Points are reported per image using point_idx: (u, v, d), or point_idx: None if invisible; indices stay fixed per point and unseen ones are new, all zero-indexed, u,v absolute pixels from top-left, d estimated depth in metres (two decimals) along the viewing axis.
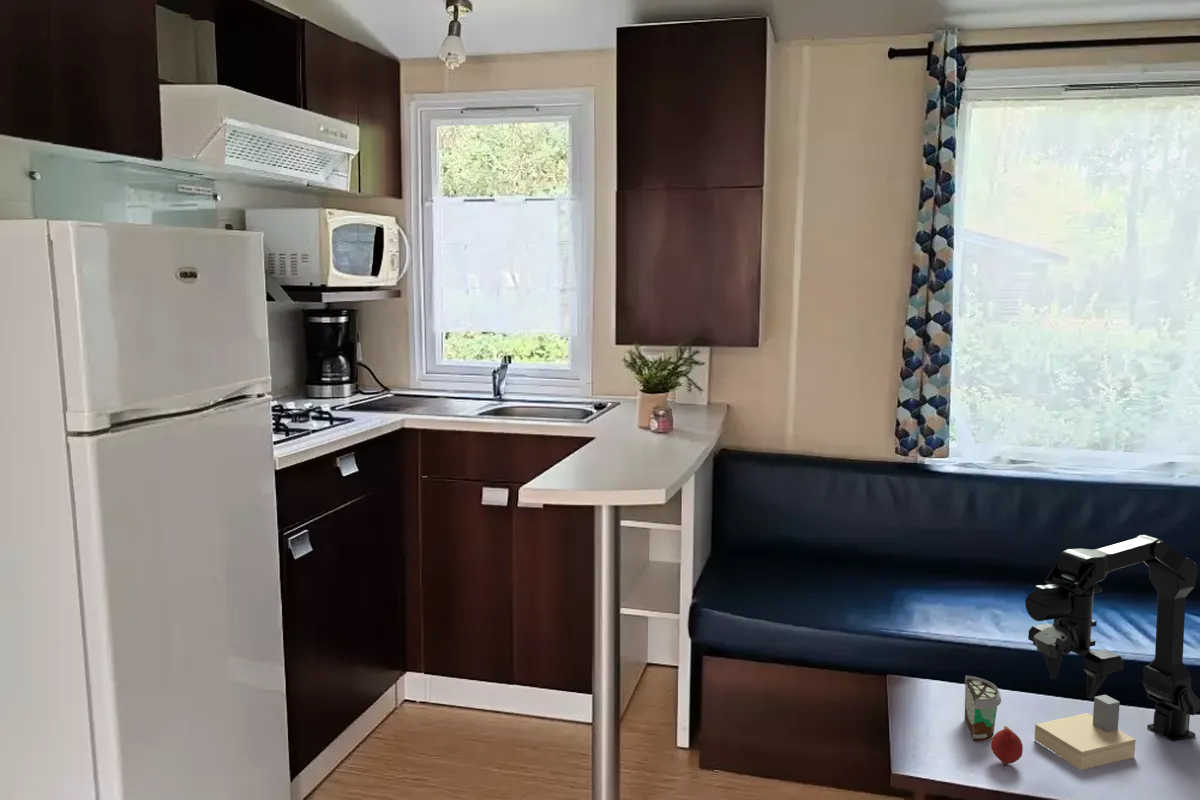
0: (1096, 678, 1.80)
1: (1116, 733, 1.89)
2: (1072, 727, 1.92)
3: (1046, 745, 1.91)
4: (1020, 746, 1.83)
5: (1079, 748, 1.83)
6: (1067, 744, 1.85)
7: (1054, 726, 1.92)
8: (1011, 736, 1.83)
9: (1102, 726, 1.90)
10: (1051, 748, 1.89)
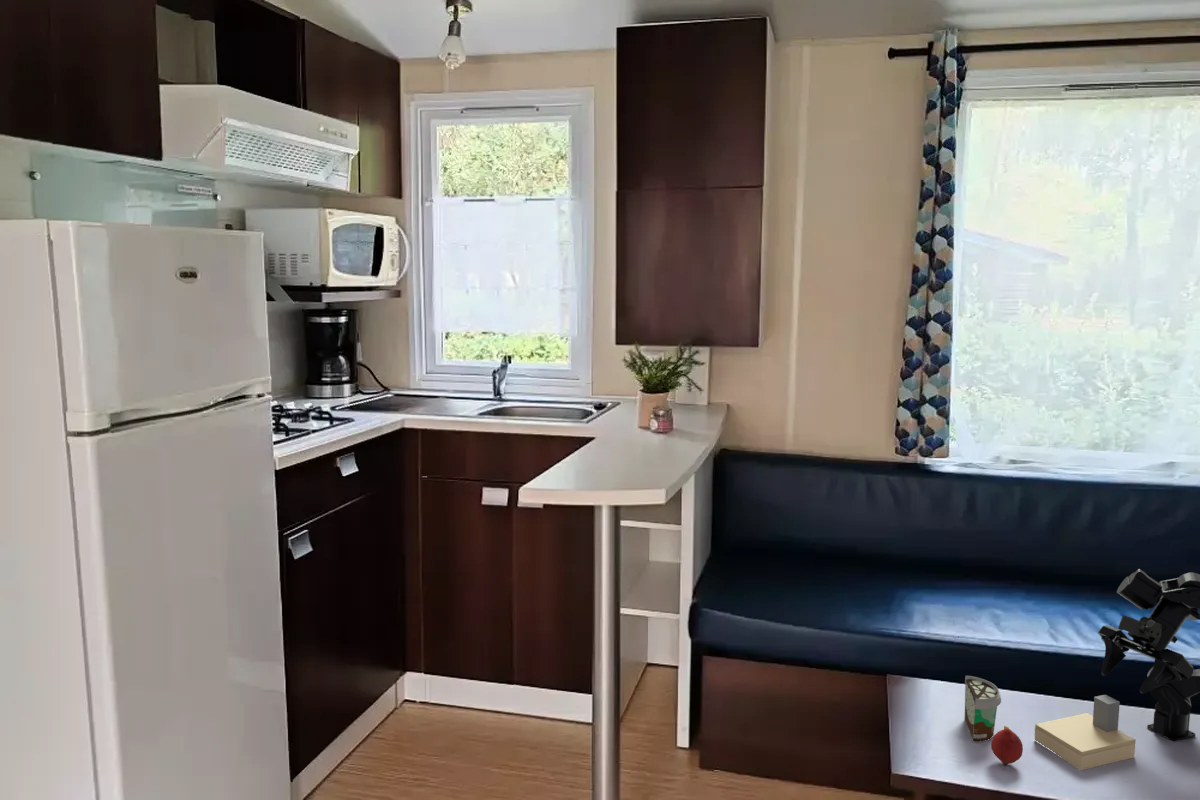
0: (1158, 676, 1.87)
1: (1116, 733, 1.89)
2: (1072, 727, 1.92)
3: (1046, 745, 1.91)
4: (1020, 746, 1.83)
5: (1079, 748, 1.83)
6: (1067, 744, 1.85)
7: (1054, 726, 1.92)
8: (1011, 736, 1.83)
9: (1102, 726, 1.90)
10: (1051, 748, 1.89)
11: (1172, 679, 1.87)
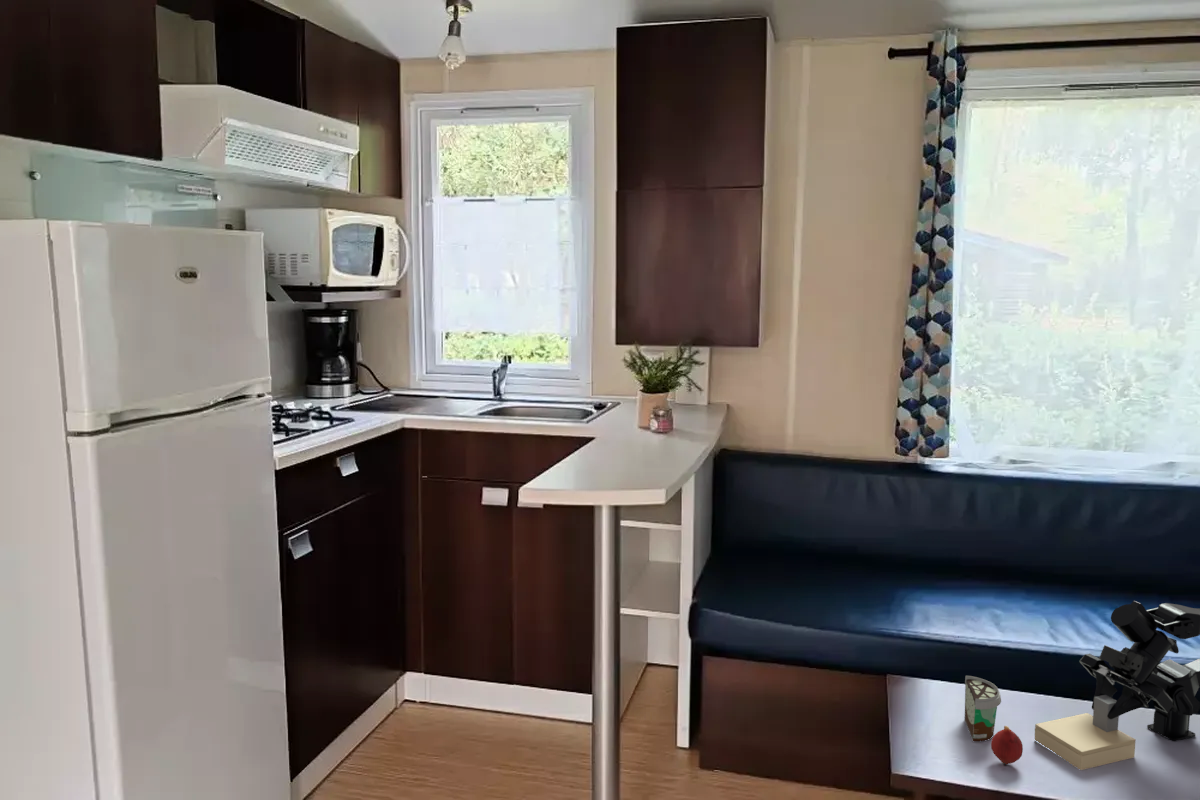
0: (1126, 703, 1.88)
1: (1116, 733, 1.89)
2: (1072, 727, 1.92)
3: (1046, 745, 1.91)
4: (1020, 746, 1.83)
5: (1079, 748, 1.83)
6: (1067, 744, 1.85)
7: (1054, 726, 1.92)
8: (1011, 736, 1.83)
9: (1102, 726, 1.90)
10: (1051, 748, 1.89)
11: (1140, 706, 1.88)
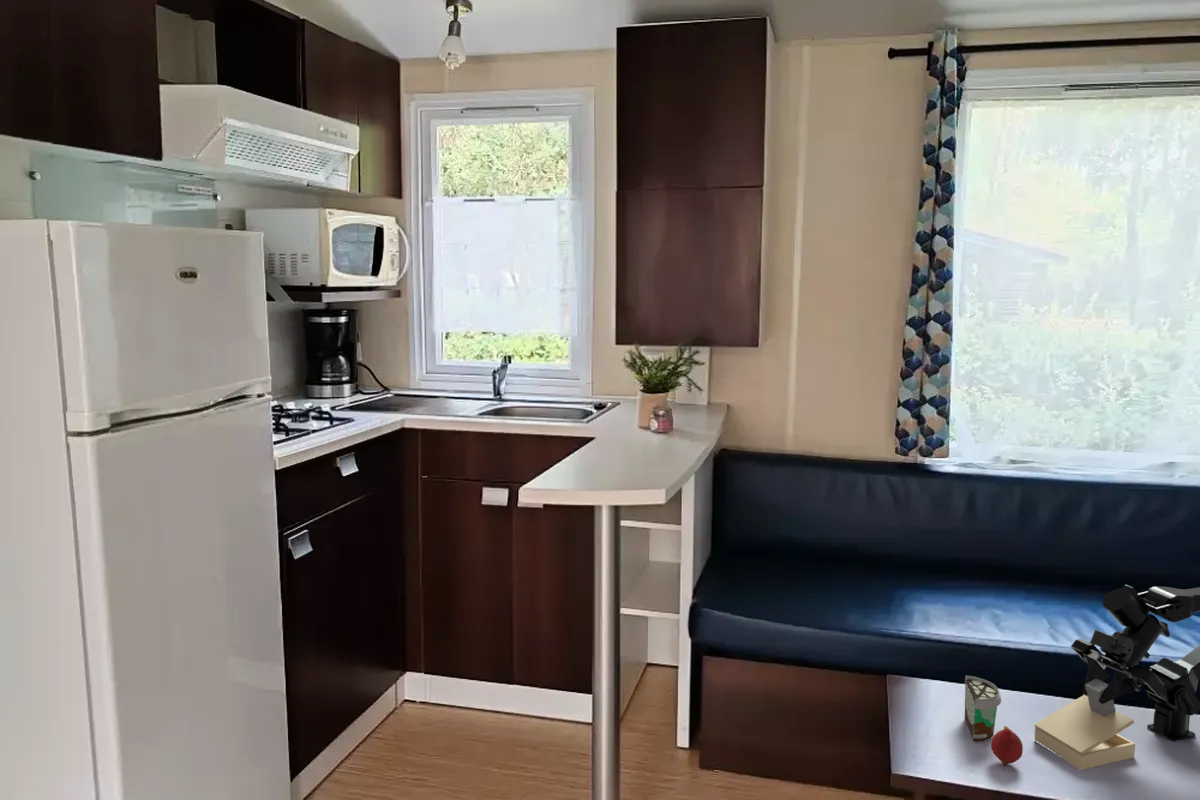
0: (1117, 687, 1.87)
1: (1114, 715, 1.88)
2: (1071, 719, 1.91)
3: (1046, 745, 1.91)
4: (1020, 746, 1.83)
5: (1078, 748, 1.83)
6: (1066, 744, 1.85)
7: (1053, 722, 1.92)
8: (1011, 736, 1.83)
9: (1099, 711, 1.90)
10: (1051, 748, 1.89)
11: (1131, 690, 1.87)
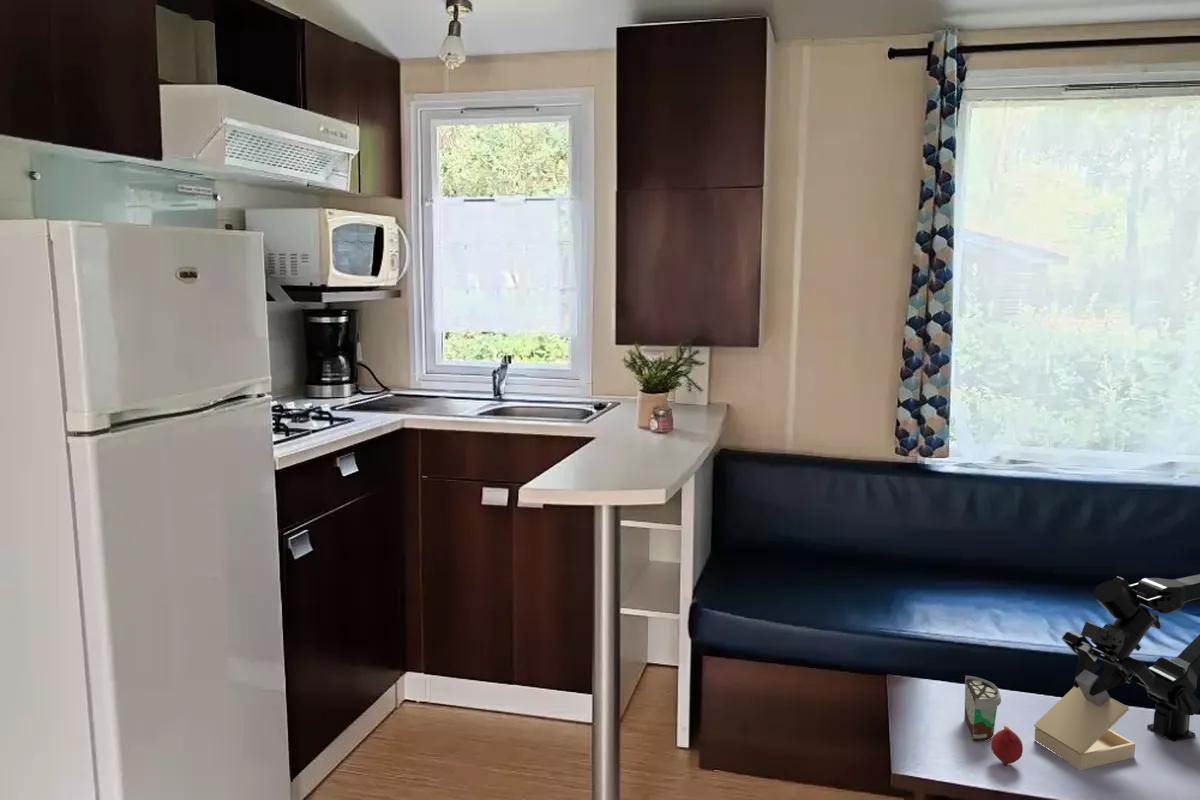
0: (1108, 679, 1.86)
1: (1109, 703, 1.87)
2: (1068, 713, 1.91)
3: (1046, 745, 1.91)
4: (1020, 746, 1.83)
5: (1077, 748, 1.83)
6: (1066, 745, 1.85)
7: (1051, 720, 1.92)
8: (1011, 736, 1.83)
9: (1094, 702, 1.89)
10: (1051, 748, 1.89)
11: (1122, 682, 1.86)
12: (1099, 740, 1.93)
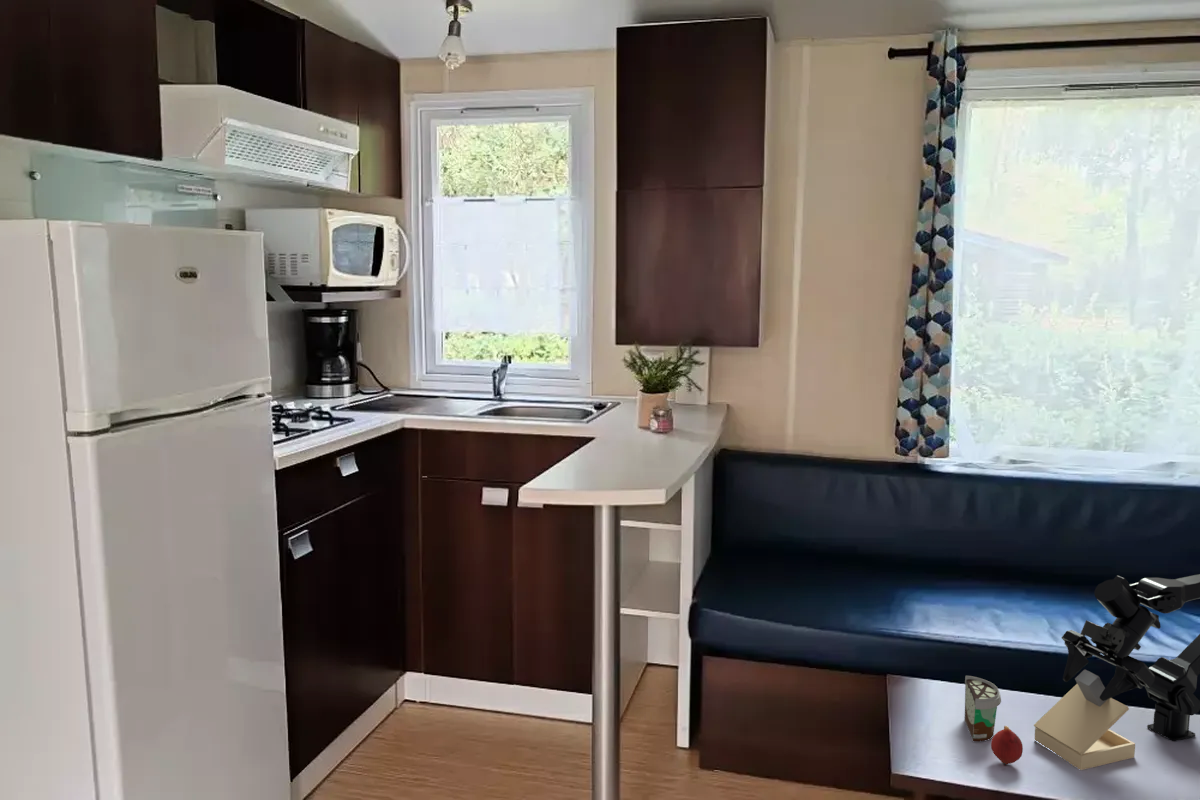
0: (1119, 684, 1.83)
1: (1109, 703, 1.87)
2: (1068, 713, 1.91)
3: (1046, 745, 1.91)
4: (1020, 746, 1.83)
5: (1077, 748, 1.83)
6: (1066, 745, 1.85)
7: (1051, 720, 1.92)
8: (1010, 736, 1.83)
9: (1094, 702, 1.89)
10: (1051, 748, 1.89)
11: (1133, 687, 1.83)
12: (1099, 740, 1.93)
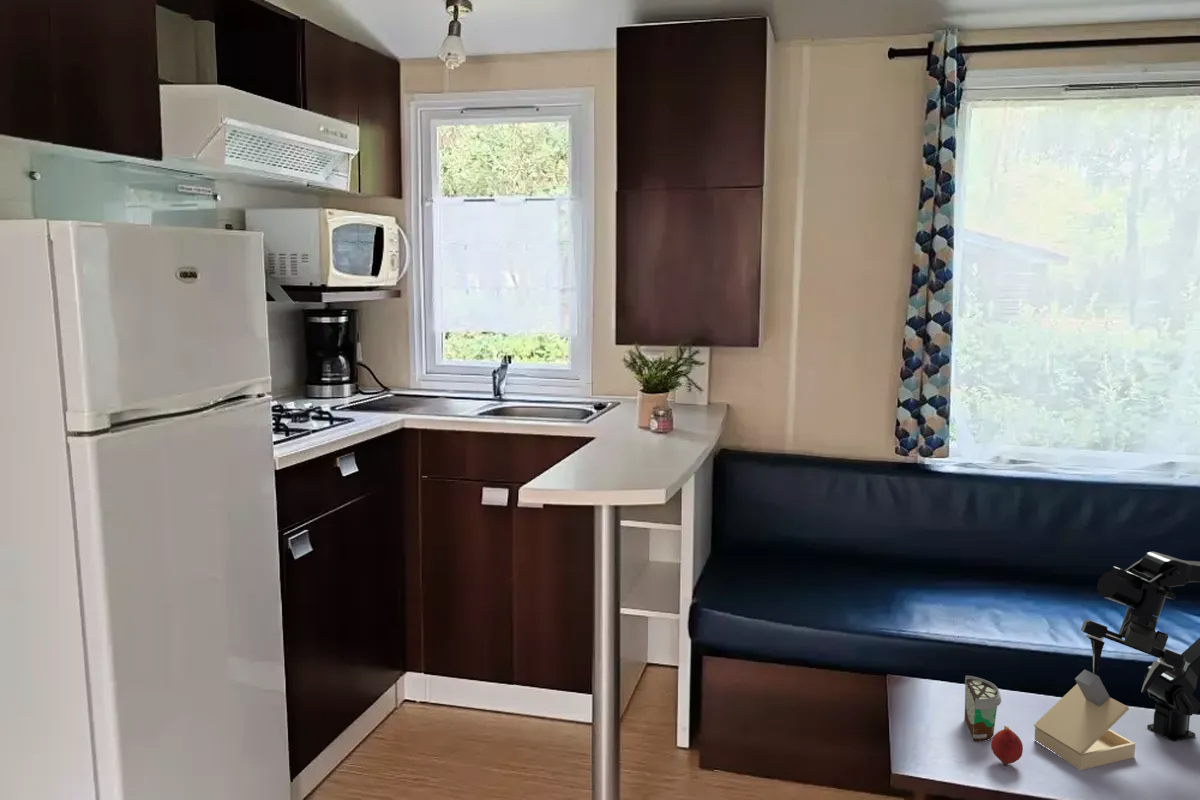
0: None
1: (1109, 703, 1.87)
2: (1068, 713, 1.91)
3: (1046, 745, 1.91)
4: (1020, 746, 1.83)
5: (1077, 748, 1.83)
6: (1066, 745, 1.85)
7: (1051, 720, 1.92)
8: (1011, 736, 1.83)
9: (1094, 702, 1.89)
10: (1051, 748, 1.89)
11: None
12: (1099, 740, 1.93)
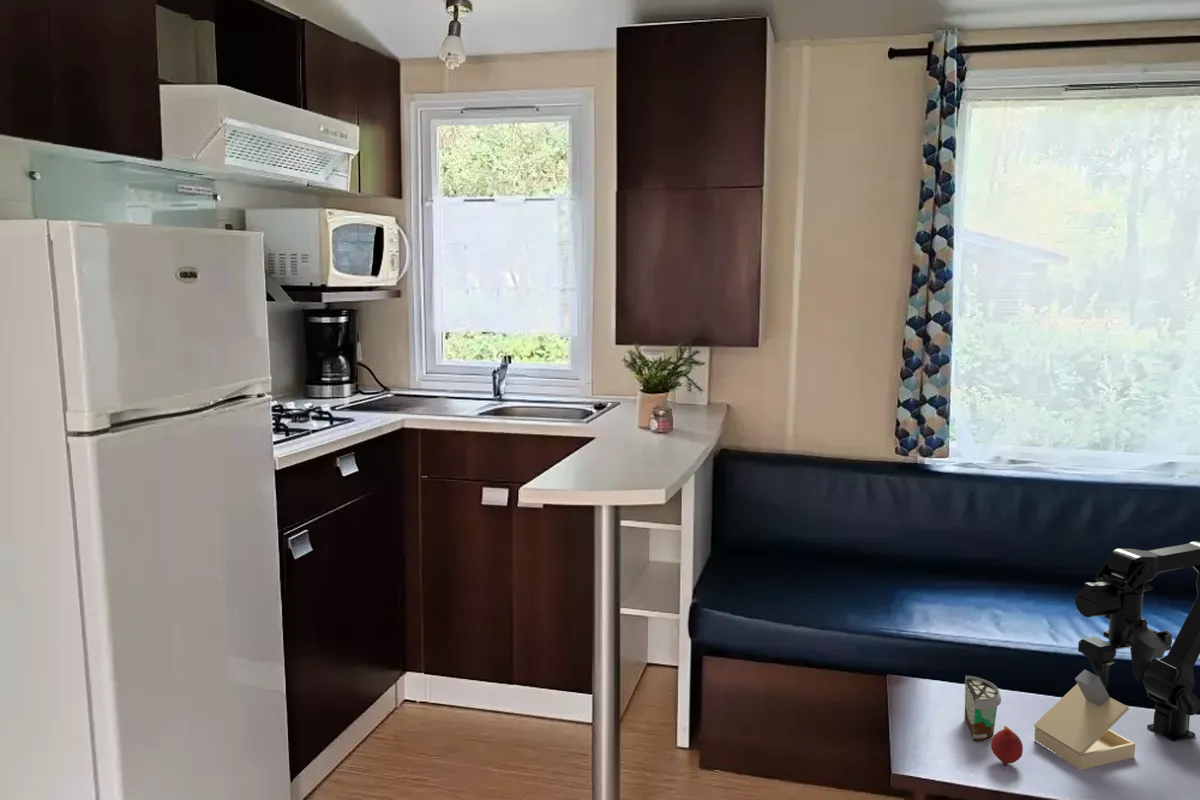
0: None
1: (1109, 703, 1.87)
2: (1068, 713, 1.91)
3: (1046, 745, 1.91)
4: (1020, 746, 1.83)
5: (1077, 748, 1.83)
6: (1066, 745, 1.85)
7: (1051, 720, 1.92)
8: (1011, 736, 1.83)
9: (1094, 702, 1.89)
10: (1051, 748, 1.89)
11: None
12: (1099, 740, 1.93)
